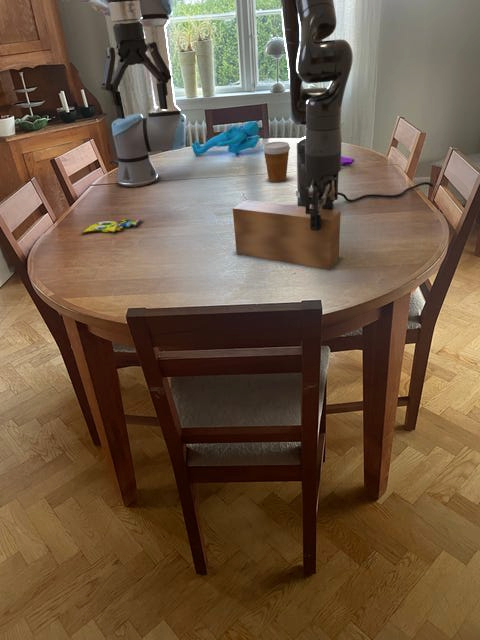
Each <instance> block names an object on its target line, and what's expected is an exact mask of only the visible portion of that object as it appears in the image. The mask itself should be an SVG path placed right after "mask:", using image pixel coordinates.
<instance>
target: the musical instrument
mask: <svg viewBox="0 0 480 640" xmlns="http://www.w3.org/2000/svg"><path fill="white" fill-rule="evenodd" d="M354 162H355V158H351V157H346V156H341V166H352V164H353V163H354Z"/></svg>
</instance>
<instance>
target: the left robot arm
mask: <svg viewBox="0 0 480 640" xmlns="http://www.w3.org/2000/svg"><path fill="white" fill-rule="evenodd" d="M61 1H62V2H67V1H68V2H72V0H61ZM78 1H79V2H82V3H84V4H87V5H89V6H91V8H92V9H94V11H95V12H97V13H99V14H102V15H104V16H107V17H110V19H111V22H112V23H114V24H113V25H112V30H113V36H114V40H115V43H116V47H113V46H107V47H105V57H106V58H105V63H104V68H103V69H104V70H103V75H102V80H101V85H100V89H101V90H103V91H107V92H108V93H109V96H110V101H111V104H112V106H114V107H115V111H116V116H117V118H116V119H115V120H113V121H112V122H111V132H112V138H113V142H114V146H115V151H116V156H117V160H118V161H117V160H114V159H112V160H110V161H109V164H110V165H111V164H113V163H115V164H116V165H117V169H118V170H117V183H118V186H120V187H123V188H124V187H125V188H136V187H137V188H138V187H145V186H147V185H148V186H149V185H151V184H154V183H156V182H157V181H158V180H159V176H158V172H157V169H156V168H155V166H154V163H153V161H152V159H151V156H150V153H152V152H153V153H155V152H165V151H175V150H181V149H183V148H184V147H185V146H186V141H187V137H186V136H187V121H186V120H187V119H186V115H185V114H183V113H182V112H181V109H180V108H179V107H178V105H176V100H175V99H176V98H175V92H174V84H173V82H174V81H173V76H172V75H173V74H172V69H171V67H172V66H171V60H170V53H169V46H168V45H169V44H168V37H167V29H166V27H167V26H168V24H169V23H170V18H169V16H171V15H172V14H174V13H173V7H172V1H171V0H78ZM117 56H118V57H119V59H118V61H117V66H116V68H115V64H116V58H117ZM141 64H142V65H143V66H144V67H145V73H146V80H147V87H148V93H149V94H148V95H149V101H150V106H151V107H150V108H149V110H148V111H147V114H148V117H144V116H143V114H142V113H133V114H129V115H125V110H124V104H123V100H122V95H121V91H118V88H119V86H120V84H121V81H122V79H123V76H124V74H125V72H126V70H127V68H128V67H129V66H135V65H141ZM114 69H115V70H114Z"/></svg>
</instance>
